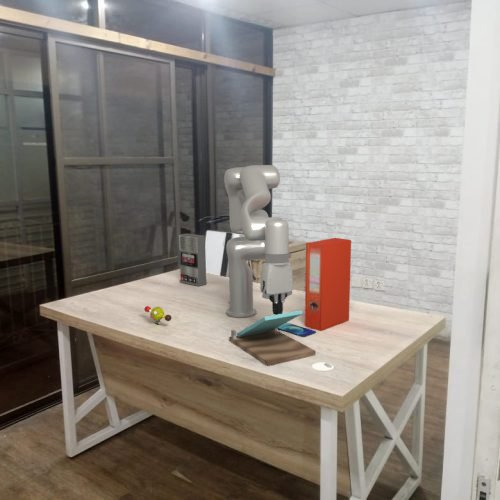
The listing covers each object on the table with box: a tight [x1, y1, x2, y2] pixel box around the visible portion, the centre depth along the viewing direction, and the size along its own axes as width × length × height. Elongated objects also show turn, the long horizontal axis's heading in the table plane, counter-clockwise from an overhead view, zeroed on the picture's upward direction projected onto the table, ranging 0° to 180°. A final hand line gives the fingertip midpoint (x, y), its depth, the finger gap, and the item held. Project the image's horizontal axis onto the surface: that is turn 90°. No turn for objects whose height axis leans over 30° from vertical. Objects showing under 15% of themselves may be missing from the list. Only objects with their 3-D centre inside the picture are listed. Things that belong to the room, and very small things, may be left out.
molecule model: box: [144, 305, 172, 326], centre depth 202 cm, size 18×6×7 cm, turn 40°
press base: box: [228, 328, 316, 367], centre depth 175 cm, size 26×18×4 cm
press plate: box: [236, 309, 303, 337], centre depth 175 cm, size 23×14×1 cm, turn 28°
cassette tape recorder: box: [178, 233, 208, 287], centre depth 265 cm, size 14×6×25 cm, turn 50°
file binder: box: [304, 237, 352, 332], centre depth 197 cm, size 8×17×32 cm, turn 134°
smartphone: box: [277, 322, 317, 338], centre depth 193 cm, size 8×1×15 cm
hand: (277, 314), depth 169 cm, fingers closed
